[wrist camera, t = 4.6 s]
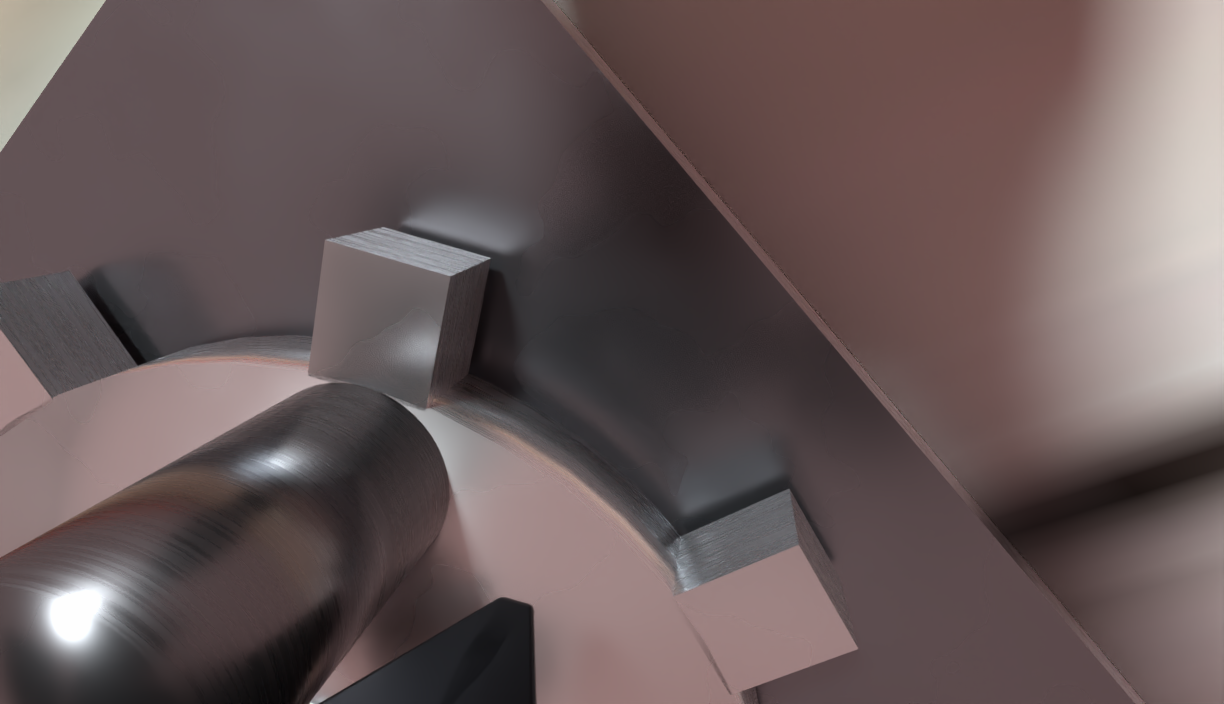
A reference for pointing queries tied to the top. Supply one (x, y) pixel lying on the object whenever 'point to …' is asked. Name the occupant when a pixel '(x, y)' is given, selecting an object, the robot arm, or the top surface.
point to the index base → (525, 289)
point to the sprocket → (354, 513)
